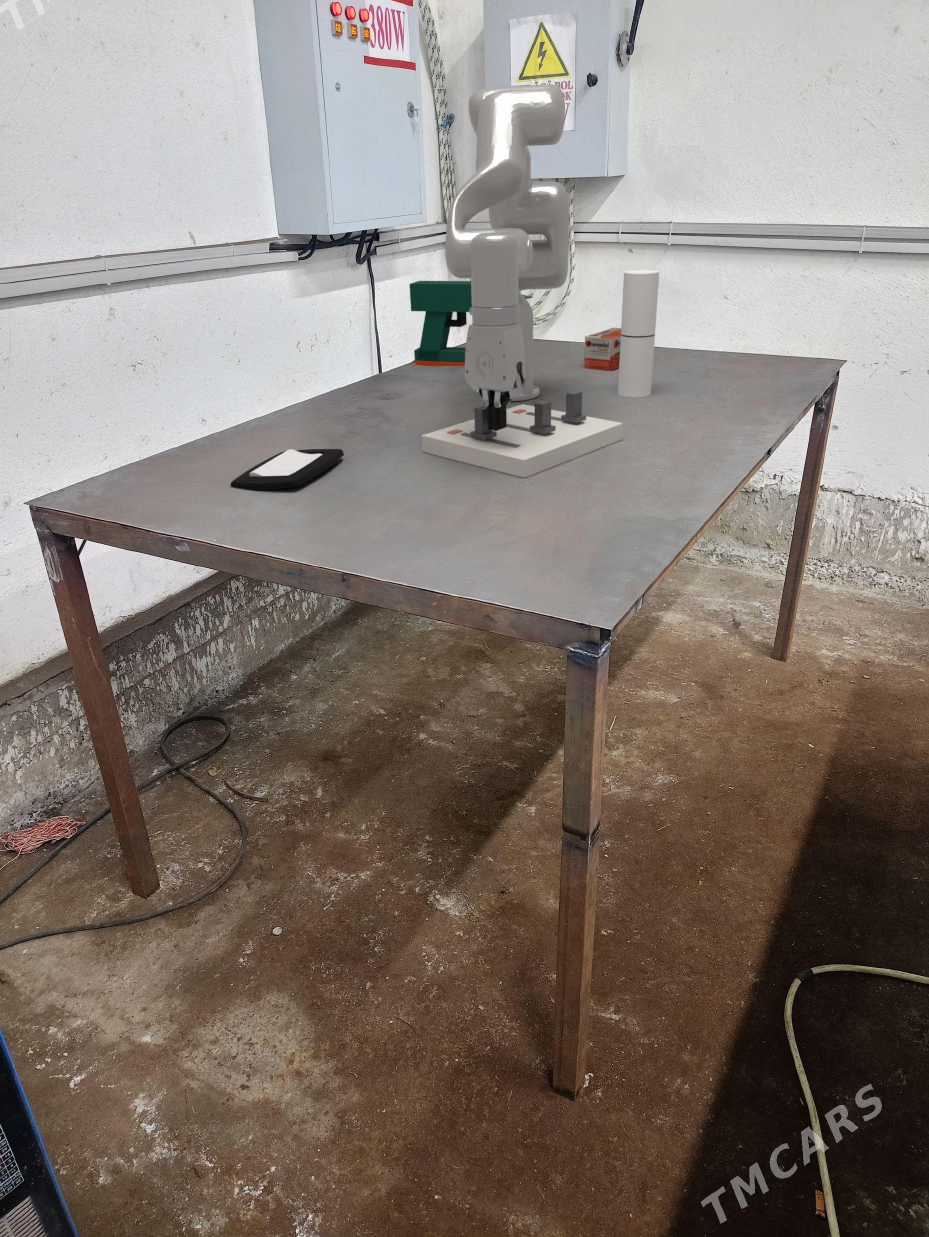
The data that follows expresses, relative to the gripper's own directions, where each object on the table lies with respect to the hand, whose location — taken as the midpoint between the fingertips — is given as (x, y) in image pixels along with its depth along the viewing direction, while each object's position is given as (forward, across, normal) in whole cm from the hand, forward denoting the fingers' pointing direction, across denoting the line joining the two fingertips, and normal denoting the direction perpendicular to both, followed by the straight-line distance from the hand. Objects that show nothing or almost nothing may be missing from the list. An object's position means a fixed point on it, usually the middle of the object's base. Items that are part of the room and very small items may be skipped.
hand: (497, 428), depth 147 cm
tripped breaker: (+2, -3, 0) cm, 4 cm away
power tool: (+6, -58, +57) cm, 82 cm away
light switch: (+6, -24, -27) cm, 36 cm away
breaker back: (+2, +3, +18) cm, 18 cm away
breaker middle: (+2, +3, +9) cm, 10 cm away
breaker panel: (+5, -2, +9) cm, 11 cm away
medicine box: (+6, -29, +77) cm, 83 cm away
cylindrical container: (+6, -7, +54) cm, 55 cm away
